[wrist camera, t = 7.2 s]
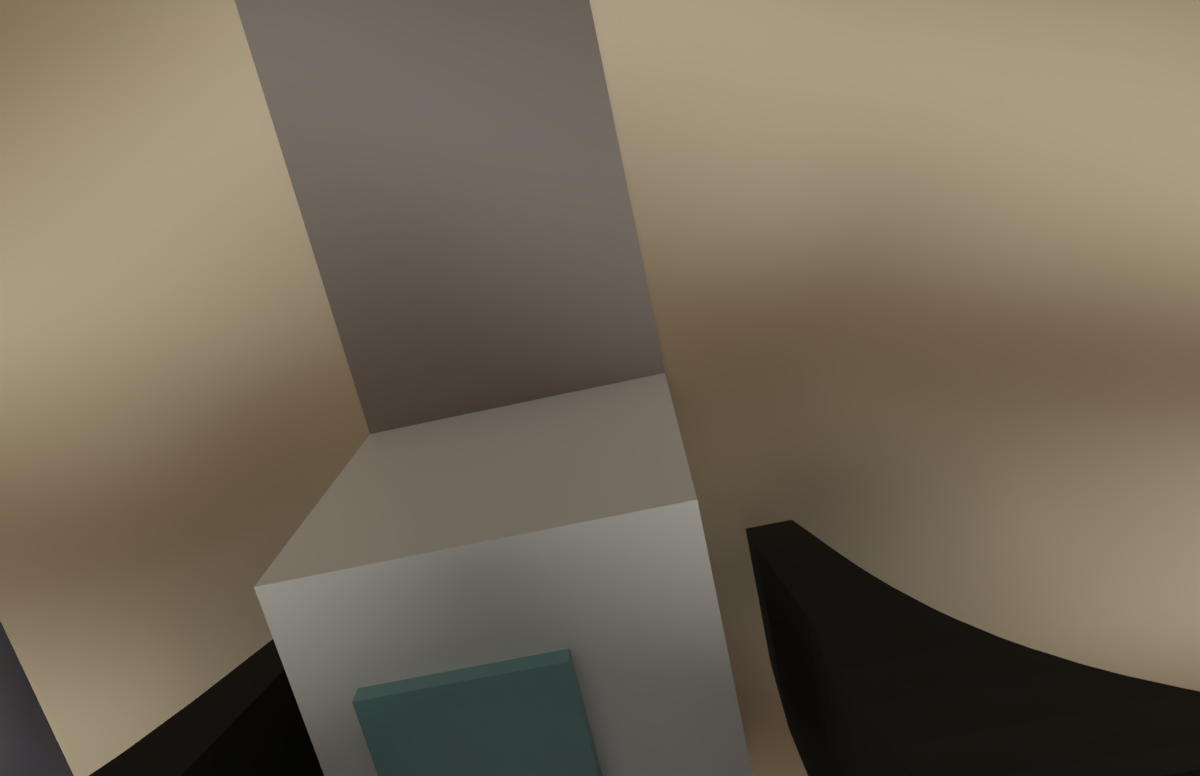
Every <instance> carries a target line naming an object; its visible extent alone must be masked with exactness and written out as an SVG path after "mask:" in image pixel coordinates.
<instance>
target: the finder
mask: <svg viewBox="0 0 1200 776" xmlns="http://www.w3.org/2000/svg"><path fill="white" fill-rule="evenodd" d="M254 589H255V592H256V594H257V597H258V600H259V602H260V605H261V608H262V610H263V613H264V616H265V619H266V621H267V624H268V627H269V629H270V632H271V635H272V637H273V640H274V643H275V645H276V648H277V651H278V653H279V656H280V659H281V661H282V664H283V667H284V669H285V672H286V675H287V677H288V680H289V683H290V685H291V688H292V691H293V693H294V696H295V699H296V701H297V704H298V707H299V710H300V712H301V715H302V718H303V720H304V723H305V726H306V728H307V731H308V734H309V736H310V739H311V742H312V744H313V747H314V750H315V752H316V755H317V758H318V760H319V763H320V766H321V768H322V771H323V774H324V776H753V774H752V769H751V764H750V759H749V754H748V749H747V744H746V739H745V734H744V729H743V724H742V719H741V714H740V709H739V705H738V700H737V695H736V690H735V685H734V680H733V675H732V670H731V665H730V660H729V655H728V650H727V645H726V640H725V635H724V630H723V625H722V620H721V615H720V610H719V605H718V600H717V595H716V590H715V585H714V580H713V575H712V570H711V565H710V560H709V555H708V550H707V545H706V540H705V535H704V531H703V526H702V521H701V516H700V511H699V506H698V501H697V497H696V493H695V489H694V485H693V481H692V477H691V473H690V469H689V465H688V461H687V457H686V453H685V449H684V446H683V442H682V438H681V434H680V430H679V426H678V422H677V418H676V414H675V410H674V406H673V402H672V398H671V395H670V391H669V387H668V383H667V379H666V375H665V373H662V374H657V375H652V376H647V377H643V378H638V379H633V380H628V381H623V382H619V383H614V384H609V385H604V386H599V387H594V388H590V389H585V390H580V391H575V392H570V393H566V394H561V395H556V396H551V397H546V398H541V399H537V400H532V401H527V402H522V403H517V404H513V405H508V406H503V407H498V408H493V409H489V410H484V411H479V412H474V413H469V414H464V415H460V416H455V417H450V418H445V419H440V420H436V421H431V422H426V423H421V424H416V425H411V426H407V427H402V428H397V429H392V430H387V431H383V432H378V433H373V434H370V435H369V436H368V437H367V439H366V440H365V441H364V443H363V444H362V445H361V446H360V448H359V449H358V450H357V452H356V453H355V454H354V456H353V457H352V458H351V460H350V461H349V462H348V464H347V465H346V466H345V468H344V469H343V470H342V472H341V473H340V474H339V475H338V477H337V478H336V479H335V481H334V482H333V483H332V485H331V486H330V487H329V489H328V490H327V491H326V493H325V494H324V495H323V497H322V498H321V499H320V501H319V502H318V503H317V504H316V506H315V507H314V508H313V510H312V511H311V512H310V514H309V515H308V516H307V518H306V519H305V520H304V522H303V523H302V524H301V526H300V527H299V528H298V530H297V531H296V532H295V534H294V535H293V536H292V537H291V539H290V540H289V541H288V543H287V544H286V545H285V547H284V548H283V549H282V551H281V552H280V553H279V555H278V556H277V557H276V559H275V560H274V561H273V563H272V564H271V565H270V566H269V568H268V569H267V570H266V572H265V573H264V574H263V576H262V577H261V578H260V580H259V581H258V582H257V584H256V585H255V586H254Z"/></svg>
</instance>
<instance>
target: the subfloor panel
mask: <svg viewBox="0 0 1200 776" xmlns="http://www.w3.org/2000/svg"><path fill="white" fill-rule="evenodd" d="M662 373H665V375H666V379H667V383H668V387H669V391H670V395H671V398H672V402H673V406H674V410H675V414H676V418H677V422H678V426H679V430H680V434H681V438H682V442H683V446H684V449H685V453H686V457H687V461H688V465H689V469H690V473H691V477H692V481H693V485H694V489H695V493H696V497H697V501H698V506H699V511H700V516H701V521H702V526H703V531H704V535H705V540H706V545H707V550H708V555H709V560H710V565H711V570H712V575H713V580H714V585H715V590H716V595H717V600H718V605H719V610H720V615H721V620H722V625H723V630H724V635H725V640H726V645H727V650H728V655H729V660H730V665H731V670H732V675H733V680H734V685H735V690H736V695H737V700H738V705H739V709H740V714H741V719H742V724H743V729H744V734H745V739H746V744H747V749H748V754H749V759H750V764H751V769H752V774H753V776H808V775H807V772H806V770H805V767H804V765H803V762H802V760H801V757H800V755H799V752H798V750H797V748H796V745H795V743H794V740H793V738H792V735H791V733H790V730H789V727H788V724H787V720H786V717H785V713H784V710H783V706H782V703H781V699H780V695H779V692H778V688H777V685H776V681H775V677H774V674H773V670H772V666H771V663H770V658H769V652H768V647H767V642H766V636H765V631H764V626H763V620H762V615H761V609H760V604H759V599H758V593H757V588H756V582H755V577H754V572H753V566H752V561H751V556H750V550H749V545H748V539H747V534H746V528H752V527H757V526H762V525H767V524H772V523H777V522H782V521H787V520H793V521H794V522H796V523H797V524H799V525H800V526H802V527H803V528H805V529H806V530H807V531H809V532H810V533H812V534H813V535H814V536H816V537H817V538H818V539H820V540H821V541H823V542H824V543H825V544H827V545H828V546H830V547H831V548H833V549H834V550H835V551H837V552H838V553H840V554H841V555H843V556H844V557H845V558H847V559H848V560H850V561H851V562H853V563H854V564H856V565H857V566H859V567H861V568H862V569H864V570H865V571H867V572H868V573H870V574H872V575H873V576H875V577H877V578H878V579H880V580H882V581H883V582H885V583H887V584H889V585H890V586H892V587H894V588H895V589H897V590H899V591H901V592H903V593H905V594H907V595H909V596H911V597H912V598H914V599H916V600H918V601H920V602H922V603H924V604H926V605H928V606H929V607H931V608H933V609H935V610H938V611H940V612H942V613H944V614H946V615H948V616H950V617H953V618H955V619H957V620H960V621H962V622H964V623H967V624H969V625H972V626H974V627H977V628H979V629H981V630H984V631H986V632H989V633H991V634H993V635H996V636H998V637H1001V638H1004V639H1006V640H1009V641H1012V642H1015V643H1018V644H1020V645H1023V646H1026V647H1029V648H1032V649H1035V650H1038V651H1042V652H1045V653H1048V654H1051V655H1054V656H1058V657H1061V658H1064V659H1067V660H1070V661H1074V662H1077V663H1080V664H1084V665H1087V666H1091V667H1095V668H1099V669H1102V670H1106V671H1110V672H1114V673H1118V674H1122V675H1126V676H1130V677H1135V678H1139V679H1144V680H1148V681H1153V682H1158V683H1162V684H1167V685H1171V686H1176V687H1181V688H1185V689H1190V690H1195V691H1200V0H0V621H1V623H2V625H3V627H4V629H5V632H6V634H7V636H8V638H9V640H10V642H11V644H12V646H13V648H14V650H15V653H16V655H17V657H18V659H19V661H20V663H21V665H22V667H23V669H24V672H25V674H26V676H27V678H28V680H29V682H30V684H31V686H32V688H33V691H34V693H35V695H36V697H37V699H38V701H39V703H40V705H41V707H42V710H43V712H44V714H45V716H46V718H47V720H48V722H49V724H50V726H51V729H52V731H53V733H54V735H55V737H56V739H57V741H58V743H59V745H60V747H61V750H62V752H63V754H64V756H65V758H66V760H67V762H68V764H69V766H70V769H71V771H72V773H73V775H74V776H89V775H90V774H92V773H93V772H95V771H96V770H98V769H99V768H101V767H102V766H104V765H105V764H107V763H108V762H110V761H111V760H113V759H114V758H116V757H117V756H119V755H120V754H121V753H123V752H124V751H126V750H127V749H128V748H130V747H131V746H133V745H134V744H135V743H137V742H138V741H139V740H141V739H142V738H143V737H145V736H146V735H148V734H149V733H150V732H152V731H153V730H154V729H156V728H157V727H158V726H160V725H161V724H163V723H164V722H165V721H167V720H168V719H169V718H171V717H172V716H173V715H175V714H176V713H178V712H179V711H180V710H182V709H183V708H184V707H186V706H187V705H188V704H190V703H191V702H192V701H194V700H195V699H196V698H198V697H199V696H200V695H202V694H203V693H204V692H205V691H207V690H208V689H209V688H211V687H212V686H213V685H214V684H216V683H217V682H218V681H220V680H221V679H222V678H223V677H225V676H226V675H227V674H228V673H230V672H231V671H232V670H234V669H235V668H236V667H237V666H239V665H240V664H241V663H243V662H244V661H245V660H246V659H248V658H249V657H250V656H252V655H253V654H254V653H255V652H257V651H258V650H259V649H261V648H262V647H263V646H265V645H266V644H267V643H268V642H270V641H271V640H272V639H273V637H272V635H271V632H270V629H269V627H268V624H267V621H266V619H265V616H264V613H263V610H262V608H261V605H260V602H259V600H258V597H257V594H256V592H255V589H254V586H255V585H256V584H257V582H258V581H259V580H260V578H261V577H262V576H263V574H264V573H265V572H266V570H267V569H268V568H269V566H270V565H271V564H272V563H273V561H274V560H275V559H276V557H277V556H278V555H279V553H280V552H281V551H282V549H283V548H284V547H285V545H286V544H287V543H288V541H289V540H290V539H291V537H292V536H293V535H294V534H295V532H296V531H297V530H298V528H299V527H300V526H301V524H302V523H303V522H304V520H305V519H306V518H307V516H308V515H309V514H310V512H311V511H312V510H313V508H314V507H315V506H316V504H317V503H318V502H319V501H320V499H321V498H322V497H323V495H324V494H325V493H326V491H327V490H328V489H329V487H330V486H331V485H332V483H333V482H334V481H335V479H336V478H337V477H338V475H339V474H340V473H341V472H342V470H343V469H344V468H345V466H346V465H347V464H348V462H349V461H350V460H351V458H352V457H353V456H354V454H355V453H356V452H357V450H358V449H359V448H360V446H361V445H362V444H363V443H364V441H365V440H366V439H367V437H368V436H369V435H370V434H373V433H378V432H383V431H387V430H392V429H397V428H402V427H407V426H411V425H416V424H421V423H426V422H431V421H436V420H440V419H445V418H450V417H455V416H460V415H464V414H469V413H474V412H479V411H484V410H489V409H493V408H498V407H503V406H508V405H513V404H517V403H522V402H527V401H532V400H537V399H541V398H546V397H551V396H556V395H561V394H566V393H570V392H575V391H580V390H585V389H590V388H594V387H599V386H604V385H609V384H614V383H619V382H623V381H628V380H633V379H638V378H643V377H647V376H652V375H657V374H662Z"/></svg>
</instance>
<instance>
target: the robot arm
mask: <svg viewBox="0 0 1200 776" xmlns="http://www.w3.org/2000/svg"><path fill="white" fill-rule="evenodd" d="M746 534H747V539H748V545H749V550H750V556H751V561H752V566H753V572H754V577H755V582H756V588H757V593H758V599H759V604H760V609H761V615H762V620H763V626H764V631H765V636H766V642H767V647H768V652H769V658H770V663H771V666H772V670H773V674H774V677H775V681H776V685H777V688H778V692H779V695H780V699H781V703H782V706H783V710H784V713H785V717H786V720H787V724H788V727H789V730H790V733H791V735H792V738H793V740H794V743H795V745H796V748H797V750H798V752H799V755H800V757H801V760H802V762H803V765H804V767H805V770H806V772H807V775H808V776H1200V691H1195V690H1190V689H1185V688H1181V687H1176V686H1171V685H1167V684H1162V683H1158V682H1153V681H1148V680H1144V679H1139V678H1135V677H1130V676H1126V675H1122V674H1118V673H1114V672H1110V671H1106V670H1102V669H1099V668H1095V667H1091V666H1087V665H1084V664H1080V663H1077V662H1074V661H1070V660H1067V659H1064V658H1061V657H1058V656H1054V655H1051V654H1048V653H1045V652H1042V651H1038V650H1035V649H1032V648H1029V647H1026V646H1023V645H1020V644H1018V643H1015V642H1012V641H1009V640H1006V639H1004V638H1001V637H998V636H996V635H993V634H991V633H989V632H986V631H984V630H981V629H979V628H977V627H974V626H972V625H969V624H967V623H964V622H962V621H960V620H957V619H955V618H953V617H950V616H948V615H946V614H944V613H942V612H940V611H938V610H935V609H933V608H931V607H929V606H928V605H926V604H924V603H922V602H920V601H918V600H916V599H914V598H912V597H911V596H909V595H907V594H905V593H903V592H901V591H899V590H897V589H895V588H894V587H892V586H890V585H889V584H887V583H885V582H883V581H882V580H880V579H878V578H877V577H875V576H873V575H872V574H870V573H868V572H867V571H865V570H864V569H862V568H861V567H859V566H857V565H856V564H854V563H853V562H851V561H850V560H848V559H847V558H845V557H844V556H843V555H841V554H840V553H838V552H837V551H835V550H834V549H833V548H831V547H830V546H828V545H827V544H825V543H824V542H823V541H821V540H820V539H818V538H817V537H816V536H814V535H813V534H812V533H810V532H809V531H807V530H806V529H805V528H803V527H802V526H800V525H799V524H797V523H796V522H794V521H793V520H787V521H782V522H777V523H772V524H767V525H762V526H757V527H752V528H746ZM89 776H324V774H323V771H322V768H321V766H320V763H319V760H318V758H317V755H316V752H315V750H314V747H313V744H312V742H311V739H310V736H309V734H308V731H307V728H306V726H305V723H304V720H303V718H302V715H301V712H300V710H299V707H298V704H297V701H296V699H295V696H294V693H293V691H292V688H291V685H290V683H289V680H288V677H287V675H286V672H285V669H284V667H283V664H282V661H281V659H280V656H279V653H278V651H277V648H276V645H275V643H274V640H273V639H272V640H271V641H270V642H268V643H267V644H266V645H265V646H263V647H262V648H261V649H259V650H258V651H257V652H255V653H254V654H253V655H252V656H250V657H249V658H248V659H246V660H245V661H244V662H243V663H241V664H240V665H239V666H237V667H236V668H235V669H234V670H232V671H231V672H230V673H228V674H227V675H226V676H225V677H223V678H222V679H221V680H220V681H218V682H217V683H216V684H214V685H213V686H212V687H211V688H209V689H208V690H207V691H205V692H204V693H203V694H202V695H200V696H199V697H198V698H196V699H195V700H194V701H192V702H191V703H190V704H188V705H187V706H186V707H184V708H183V709H182V710H180V711H179V712H178V713H176V714H175V715H173V716H172V717H171V718H169V719H168V720H167V721H165V722H164V723H163V724H161V725H160V726H158V727H157V728H156V729H154V730H153V731H152V732H150V733H149V734H148V735H146V736H145V737H143V738H142V739H141V740H139V741H138V742H137V743H135V744H134V745H133V746H131V747H130V748H128V749H127V750H126V751H124V752H123V753H121V754H120V755H119V756H117V757H116V758H114V759H113V760H111V761H110V762H108V763H107V764H105V765H104V766H102V767H101V768H99V769H98V770H96V771H95V772H93V773H92V774H90V775H89Z"/></svg>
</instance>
